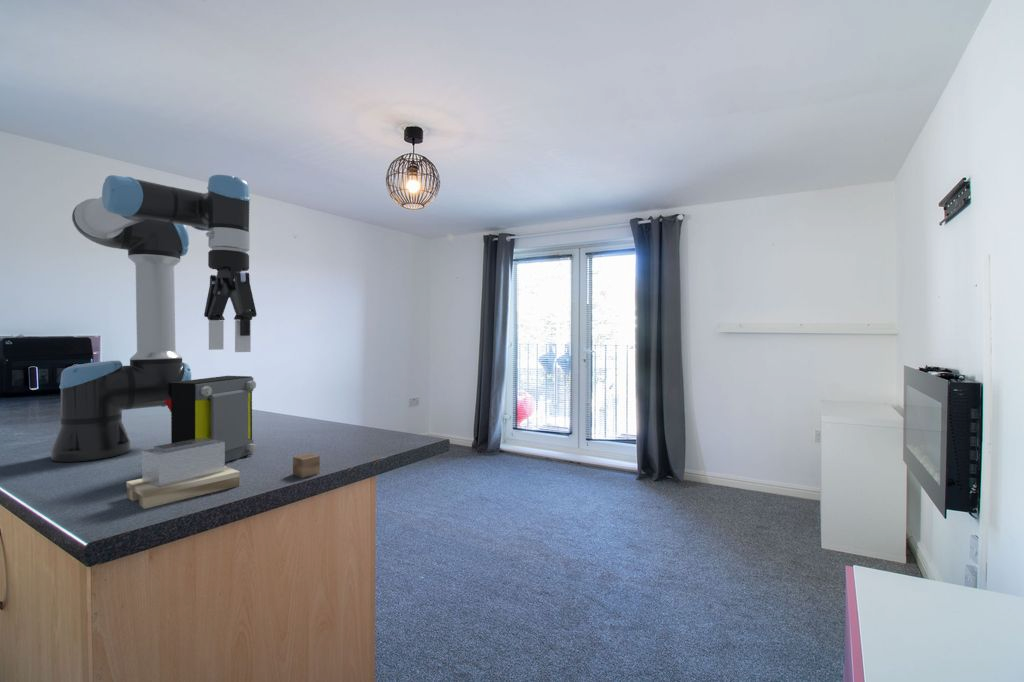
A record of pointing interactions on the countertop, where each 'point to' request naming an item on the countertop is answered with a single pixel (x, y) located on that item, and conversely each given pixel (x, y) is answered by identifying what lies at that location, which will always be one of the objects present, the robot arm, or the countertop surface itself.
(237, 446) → the electrical component
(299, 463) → the walnut block
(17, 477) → the countertop surface
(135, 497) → the stand
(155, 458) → the block
